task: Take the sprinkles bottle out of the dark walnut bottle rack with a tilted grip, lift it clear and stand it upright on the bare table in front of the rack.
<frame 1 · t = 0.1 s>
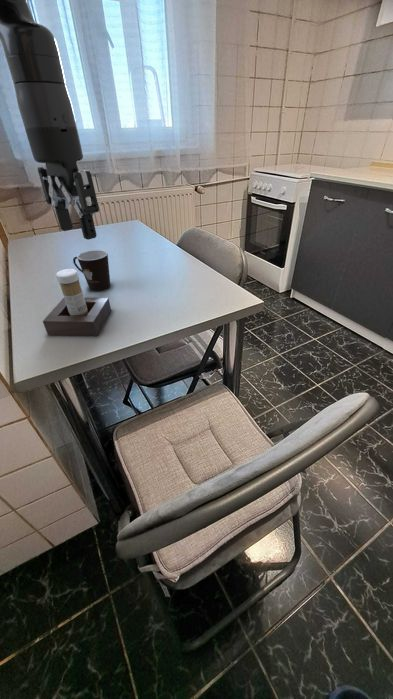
hand: (78, 234, 55), 24 cm above the table, tool pointing down, fingers open, 8 cm apart
bottle rack: (81, 322, 75), on the table
coffee mug: (97, 285, 92), on the table
sprinkles bottle: (81, 323, 75), resting in bottle rack
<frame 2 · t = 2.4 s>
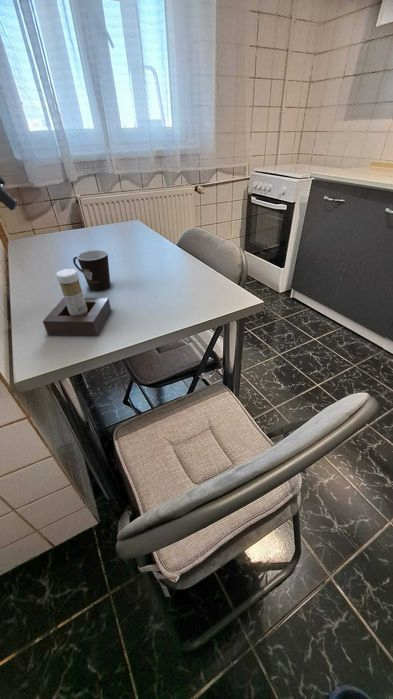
hand: (0, 212, 59), 26 cm above the table, tool tilted 40°, fingers open, 8 cm apart
nothing on the table moved.
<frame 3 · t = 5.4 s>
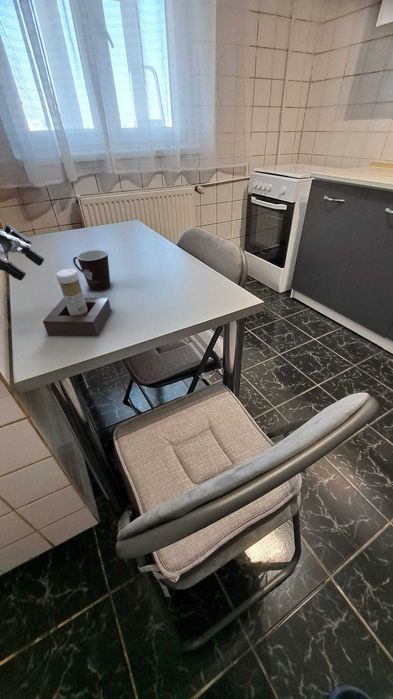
hand: (33, 269, 67), 14 cm above the table, tool tilted 45°, fingers open, 8 cm apart
nothing on the table moved.
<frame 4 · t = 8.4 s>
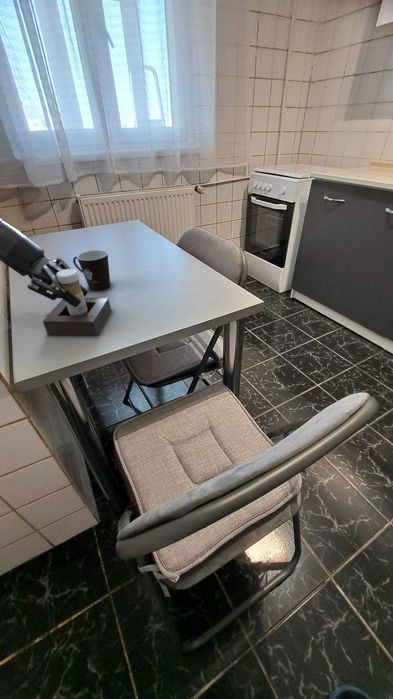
hand: (82, 299, 71), 7 cm above the table, tool tilted 45°, fingers closed on sprinkles bottle, 4 cm apart
sprinkles bottle: (81, 323, 75), resting in bottle rack, touching gripper
everything else where it was.
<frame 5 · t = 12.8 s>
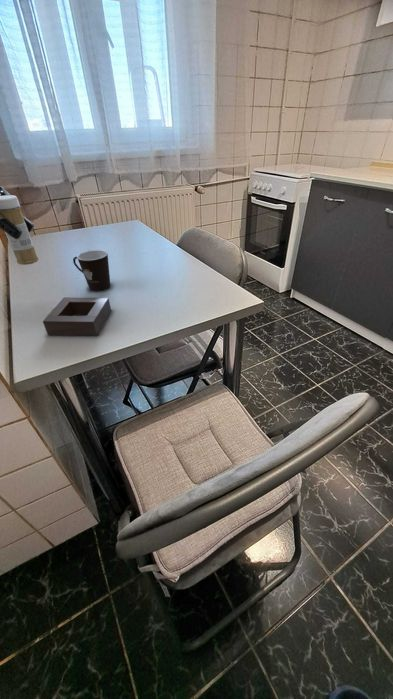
hand: (25, 232, 63), 22 cm above the table, tool tilted 45°, fingers closed on sprinkles bottle, 4 cm apart
sprinkles bottle: (28, 262, 67), point 15 cm above the table, touching gripper
everything else where it was.
when the fingers open (7 cm above the table, at t = 17.5 s): sprinkles bottle stays where it is, on the table.
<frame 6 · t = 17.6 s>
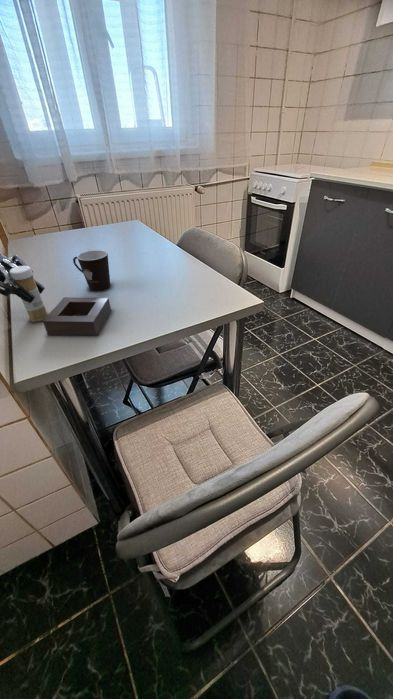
hand: (37, 295, 73), 7 cm above the table, tool tilted 45°, fingers open, 4 cm apart
sprinkles bottle: (39, 318, 77), on the table
everything else where it was.
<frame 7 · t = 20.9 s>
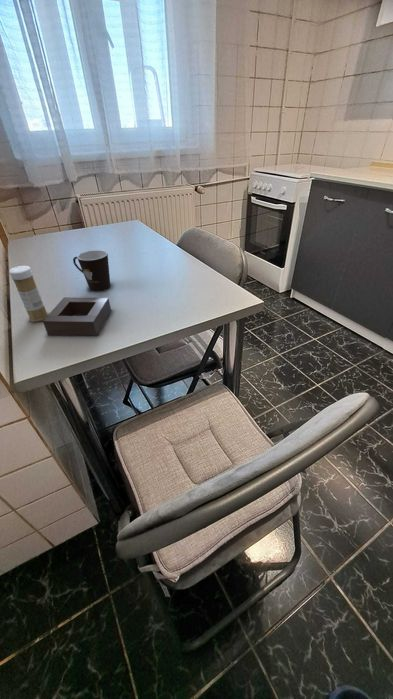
nothing on the table moved.
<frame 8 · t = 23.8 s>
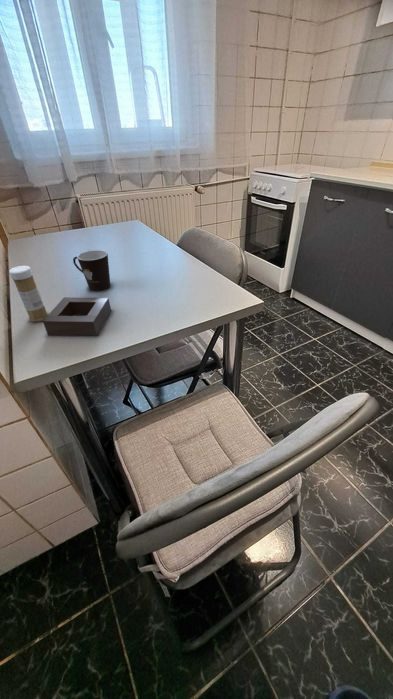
nothing on the table moved.
at the end: sprinkles bottle inside the target area (0.1 cm from its centre), on the table; sprinkles bottle tilted 0°; the gripper is holding nothing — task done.
